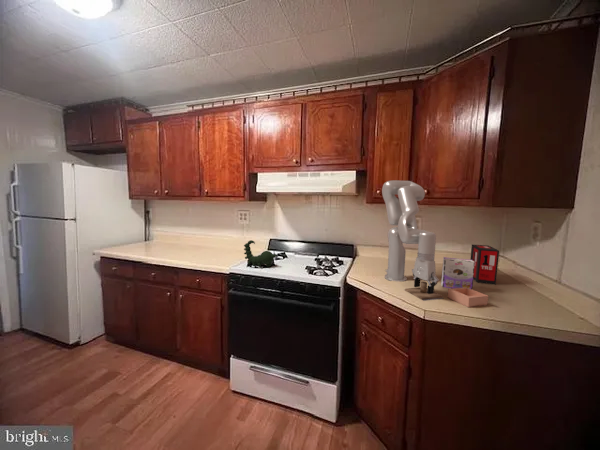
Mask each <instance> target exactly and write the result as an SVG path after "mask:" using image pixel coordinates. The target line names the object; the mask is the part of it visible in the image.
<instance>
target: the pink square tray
mask: <svg viewBox="0 0 600 450" xmlns="http://www.w3.org/2000/svg"><path fill="white" fill-rule="evenodd" d="M447 290H448V291H447V298H448V299H450V300H452V301H453V302H456V303H458V304H460V305H463V306H464V307H465V308H474V307H484V306H488V302H489V295H487V294H485V293H482V292H480V291H477V290H475V289H470V288H467V287H463V288H447Z"/></svg>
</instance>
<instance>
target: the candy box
mask: <svg viewBox="0 0 600 450" xmlns="http://www.w3.org/2000/svg"><path fill="white" fill-rule="evenodd" d="M474 263H475V262H474V261H473V260H470V259H467V258H457V257H447V256H446V257H445V256H443V258H442V270H441V283H440V284H441V287H442V288H447V289H452V288H463V287H467V288H470V289H472V290H474V289H473V288H474V287H473V285H474V279H473V275H474Z"/></svg>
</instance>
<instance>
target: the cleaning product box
mask: <svg viewBox="0 0 600 450" xmlns="http://www.w3.org/2000/svg"><path fill="white" fill-rule="evenodd" d="M470 248H471V251H470V259H469V260H473V261H474V262H475V263H474V275H473V281H475V282H476V283H477V284H478V283H479V284H485V285H487V284H488V285H496V284H497V275H498V274H497V273H498V266H499V259H500V257H499V256H500V250H499V249H496V248H494V247H493V246H490V245H487V244H471V247H470Z"/></svg>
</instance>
